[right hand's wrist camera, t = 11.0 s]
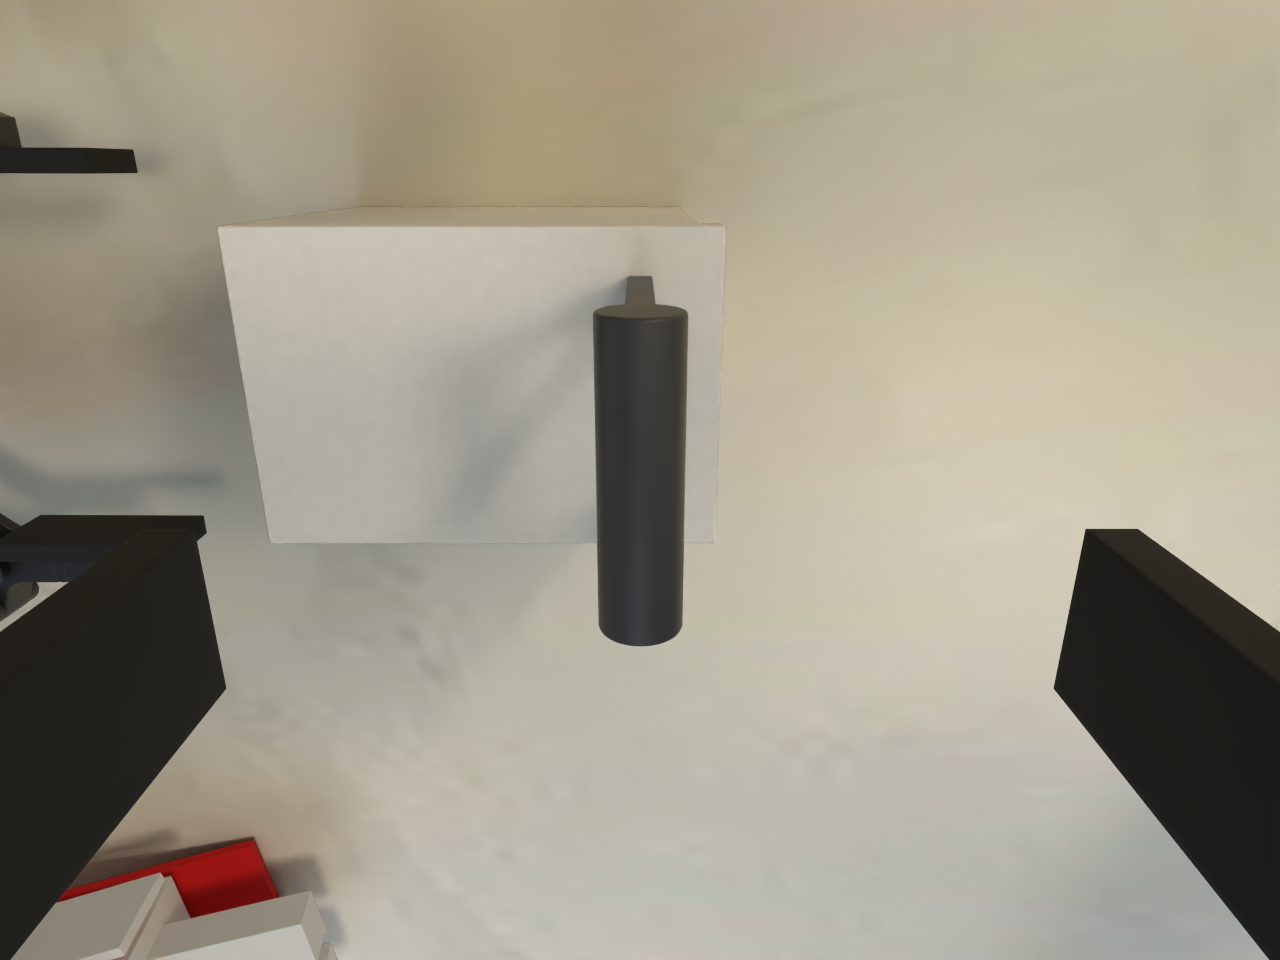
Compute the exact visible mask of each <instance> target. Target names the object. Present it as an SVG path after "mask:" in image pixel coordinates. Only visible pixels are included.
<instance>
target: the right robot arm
mask: <svg viewBox="0 0 1280 960" xmlns="http://www.w3.org/2000/svg"><path fill="white" fill-rule="evenodd" d="M225 689H226V684H225V680H224V675H223V670H222V665H221V660H220V655H219V650H218V645H217V640H216V635H215V630H214V625H213V620H212V615H211V610H210V605H209V600H208V595H207V590H206V585H205V580H204V575H203V570H202V565H201V560H200V555H199V550H198V545H197V540H196V535H195V530H194V529H142V530H140V531H139V532H137V533H136V534H135V535H133V536H132V537H131V538H129V539H128V540H126V541H125V542H124V543H122V544H121V545H120V546H118V547H117V548H115V549H114V550H113V551H111V552H110V553H109V554H107V555H106V556H104V557H103V558H102V559H100V560H99V561H97V562H96V563H95V564H93V565H92V566H91V567H89V568H88V569H86V570H85V571H84V572H82V573H81V574H80V575H78V576H77V577H75V578H74V579H73V580H71V581H70V582H69V583H67V584H66V585H64V586H63V587H62V588H60V589H59V590H58V591H56V592H55V593H53V594H52V595H51V596H49V597H48V598H46V599H45V600H44V601H42V602H41V603H40V604H38V605H37V606H35V607H34V608H33V609H31V610H30V611H29V612H27V613H26V614H24V615H23V616H22V617H20V618H19V619H18V620H16V621H15V622H13V623H12V624H11V625H9V626H8V627H6V628H5V629H4V630H2V631H1V632H0V960H11V959H12V957H13V956H14V955H15V954H16V952H17V951H18V950H19V949H20V947H21V946H22V945H23V944H24V942H25V941H26V940H27V939H28V937H29V936H30V935H31V934H32V932H33V931H34V930H35V928H36V927H37V926H38V925H39V923H40V922H41V921H42V920H43V918H44V917H45V916H46V915H47V913H48V912H49V911H50V910H51V908H52V907H53V906H54V905H55V903H56V902H57V901H58V900H59V898H60V897H61V896H62V895H63V893H64V892H65V891H66V889H67V888H68V887H69V886H70V884H71V883H72V882H73V881H74V879H75V878H76V877H77V876H78V874H79V873H80V872H81V871H82V869H83V868H84V867H85V866H86V864H87V863H88V862H89V861H90V859H91V858H92V857H93V856H94V854H95V853H96V852H97V850H98V849H99V848H100V847H101V845H102V844H103V843H104V842H105V840H106V839H107V838H108V837H109V835H110V834H111V833H112V832H113V830H114V829H115V828H116V827H117V825H118V824H119V823H120V822H121V820H122V819H123V818H124V817H125V815H126V814H127V813H128V811H129V810H130V809H131V808H132V806H133V805H134V804H135V803H136V801H137V800H138V799H139V798H140V796H141V795H142V794H143V793H144V791H145V790H146V789H147V788H148V786H149V785H150V784H151V783H152V781H153V780H154V779H155V778H156V776H157V775H158V774H159V772H160V771H161V770H162V769H163V767H164V766H165V765H166V764H167V762H168V761H169V760H170V759H171V757H172V756H173V755H174V754H175V752H176V751H177V750H178V749H179V747H180V746H181V745H182V744H183V742H184V741H185V740H186V739H187V737H188V736H189V735H190V734H191V732H192V731H193V730H194V728H195V727H196V726H197V725H198V723H199V722H200V721H201V720H202V718H203V717H204V716H205V715H206V713H207V712H208V711H209V710H210V708H211V707H212V706H213V705H214V703H215V702H216V701H217V700H218V698H219V697H220V696H221V695H222V693H223V692H224V691H225ZM1054 689H1055V691H1056V692H1057V693H1058V695H1059V696H1060V697H1061V698H1062V700H1063V701H1064V702H1065V703H1066V705H1067V706H1068V707H1069V708H1070V710H1071V711H1072V712H1073V713H1074V715H1075V716H1076V717H1077V718H1078V720H1079V721H1080V722H1081V723H1082V725H1083V726H1084V727H1085V728H1086V730H1087V731H1088V732H1089V734H1090V735H1091V736H1092V737H1093V739H1094V740H1095V741H1096V742H1097V744H1098V745H1099V746H1100V747H1101V749H1102V750H1103V751H1104V752H1105V754H1106V755H1107V756H1108V757H1109V759H1110V760H1111V761H1112V762H1113V764H1114V765H1115V766H1116V767H1117V769H1118V770H1119V771H1120V772H1121V774H1122V775H1123V776H1124V778H1125V779H1126V780H1127V781H1128V783H1129V784H1130V785H1131V786H1132V788H1133V789H1134V790H1135V791H1136V793H1137V794H1138V795H1139V796H1140V798H1141V799H1142V800H1143V801H1144V803H1145V804H1146V805H1147V806H1148V808H1149V809H1150V810H1151V811H1152V813H1153V814H1154V815H1155V817H1156V818H1157V819H1158V820H1159V822H1160V823H1161V824H1162V825H1163V827H1164V828H1165V829H1166V830H1167V832H1168V833H1169V834H1170V835H1171V837H1172V838H1173V839H1174V840H1175V842H1176V843H1177V844H1178V845H1179V847H1180V848H1181V849H1182V850H1183V852H1184V853H1185V854H1186V856H1187V857H1188V858H1189V859H1190V861H1191V862H1192V863H1193V864H1194V866H1195V867H1196V868H1197V869H1198V871H1199V872H1200V873H1201V874H1202V876H1203V877H1204V878H1205V879H1206V881H1207V882H1208V883H1209V884H1210V886H1211V887H1212V888H1213V889H1214V891H1215V892H1216V893H1217V895H1218V896H1219V897H1220V898H1221V900H1222V901H1223V902H1224V903H1225V905H1226V906H1227V907H1228V908H1229V910H1230V911H1231V912H1232V913H1233V915H1234V916H1235V917H1236V918H1237V920H1238V921H1239V922H1240V923H1241V925H1242V926H1243V927H1244V928H1245V930H1246V931H1247V932H1248V934H1249V935H1250V936H1251V937H1252V939H1253V940H1254V941H1255V942H1256V944H1257V945H1258V946H1259V947H1260V949H1261V950H1262V951H1263V952H1264V954H1265V955H1266V956H1267V957H1268V959H1269V960H1280V632H1279V631H1278V630H1276V629H1275V628H1274V627H1272V626H1271V625H1269V624H1268V623H1267V622H1265V621H1264V620H1262V619H1261V618H1260V617H1258V616H1257V615H1256V614H1254V613H1253V612H1251V611H1250V610H1249V609H1247V608H1246V607H1245V606H1243V605H1242V604H1240V603H1239V602H1238V601H1236V600H1235V599H1234V598H1232V597H1231V596H1229V595H1228V594H1227V593H1225V592H1224V591H1222V590H1221V589H1220V588H1218V587H1217V586H1216V585H1214V584H1213V583H1211V582H1210V581H1209V580H1207V579H1206V578H1205V577H1203V576H1202V575H1200V574H1199V573H1198V572H1196V571H1195V570H1194V569H1192V568H1191V567H1189V566H1188V565H1187V564H1185V563H1184V562H1183V561H1181V560H1180V559H1178V558H1177V557H1176V556H1174V555H1173V554H1171V553H1170V552H1169V551H1167V550H1166V549H1165V548H1163V547H1162V546H1160V545H1159V544H1158V543H1156V542H1155V541H1154V540H1152V539H1151V538H1149V537H1148V536H1147V535H1145V534H1144V533H1143V532H1141V531H1140V530H1138V529H1086V530H1085V535H1084V540H1083V545H1082V550H1081V555H1080V560H1079V565H1078V570H1077V575H1076V580H1075V585H1074V590H1073V595H1072V600H1071V605H1070V610H1069V615H1068V620H1067V625H1066V630H1065V635H1064V640H1063V645H1062V650H1061V655H1060V660H1059V665H1058V670H1057V675H1056V679H1055V684H1054Z"/></svg>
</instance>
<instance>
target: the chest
mask: <svg viewBox="0 0 1280 960" xmlns="http://www.w3.org/2000/svg"><path fill="white" fill-rule="evenodd" d="M245 223H698V222H697V221H696V220H695V219H694V218H693V217H692V216H690V215H689V214H688V213H687V212H686V211H685V210H684V209H683V208H681V207H354V208H346V209H339V210H332V211H324V212H317V213H310V214H303V215H295V216H288V217H281V218H274V219H267V220H259V221H252V222H245Z"/></svg>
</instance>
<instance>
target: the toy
mask: <svg viewBox="0 0 1280 960" xmlns="http://www.w3.org/2000/svg"><path fill="white" fill-rule="evenodd" d="M325 931H326V927H325V925H324V922H323V919H322V917H321V914H320V912H319V909H318V907H317V904H316V902H315V899H314V896H313V894H312V891H311V890H309V891H305V892H301V893H296V894H292V895H288V896H284V897H279V896H278V894H277V892H276V889H275V887H274V885H273V882H272V880H271V878H270V876H269V873H268V871H267V869H266V867H265V864H264V862H263V860H262V858H261V855H260V853H259V851H258V849H257V846H256V844H255V842H254V840H253V839H252V840H248V841H245V842H241V843H237V844H234V845H230V846H226V847H223V848H219V849H215V850H212V851H208V852H204V853H201V854H197V855H193V856H189V857H186V858H182V859H178V860H175V861H171V862H167V863H164V864H160V865H156V866H153V867H149V868H145V869H142V870H138V871H134V872H130V873H127V874H123V875H119V876H116V877H112V878H108V879H105V880H101V881H97V882H94V883H90V884H86V885H83V886H79V887H75V888H71V889H68V890H66V891H65V892H64V893H63V895H62V896H61V897H60V898H59V900H58V901H57V902H56V903H55V905H54V906H53V907H52V908H51V910H50V911H49V912H48V913H47V915H46V916H45V917H44V918H43V920H42V921H41V922H40V923H39V925H38V926H37V927H36V928H35V930H34V931H33V932H32V934H31V935H30V936H29V937H28V939H27V940H26V941H25V942H24V944H23V945H22V946H21V947H20V949H19V950H18V951H17V952H16V954H15V955H14V956H13V957H12V959H11V960H338V958H337V955H336V953H335V950H334V948H333V945H332V943H327V944H323V945H322V943H323V939H324V935H325Z"/></svg>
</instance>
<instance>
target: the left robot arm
mask: <svg viewBox="0 0 1280 960" xmlns="http://www.w3.org/2000/svg"><path fill="white" fill-rule="evenodd" d="M0 173H138V172H137V167H136V162H135V156H134V151H133V150H130V149H102V148H22V146H21V142H20V138H19V134H18V129H17V125H16V121H15V118H14V117H11V116H9V115H6V114H4V113H1V112H0ZM142 529H194V530H195V535H196V540H197V541H198V540H199V539H200V538H201V537H202V536H204V535H205V534H206V533H207V531H206V526H205V521H204V516H157V515H40V516H38V517H37V518H35V519H33V520H31V521H30V522H28V523H26V524H24V525H23V526H20V525H18V524H16V523H15V522H13V521H12V520H10V519H9V518H7V517H6V516H4V515H2V514H1V513H0V622H1V621H2V620H4V619H5V618H6V617H8V616H9V615H11V614H12V613H13V612H15V611H16V610H18V609H19V608H21V607H22V606H23V605H25V604H26V603H28V602H29V601H30V600H32V599H33V598H34V597H36V596H37V594H38V592H39V587H38V584H37V582H59V581H61V582H70V581H71V580H73V579H74V578H75V577H77V576H78V575H80V574H81V573H82V572H84V571H85V570H86V569H88V568H89V567H91V566H92V565H93V564H95V563H96V562H97V561H99V560H100V559H102V558H103V557H104V556H106V555H107V554H109V553H110V552H111V551H113V550H114V549H115V548H117V547H118V546H120V545H121V544H122V543H124V542H125V541H126V540H128V539H129V538H131V537H132V536H133V535H135V534H136V533H137V532H139V531H140V530H142Z"/></svg>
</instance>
